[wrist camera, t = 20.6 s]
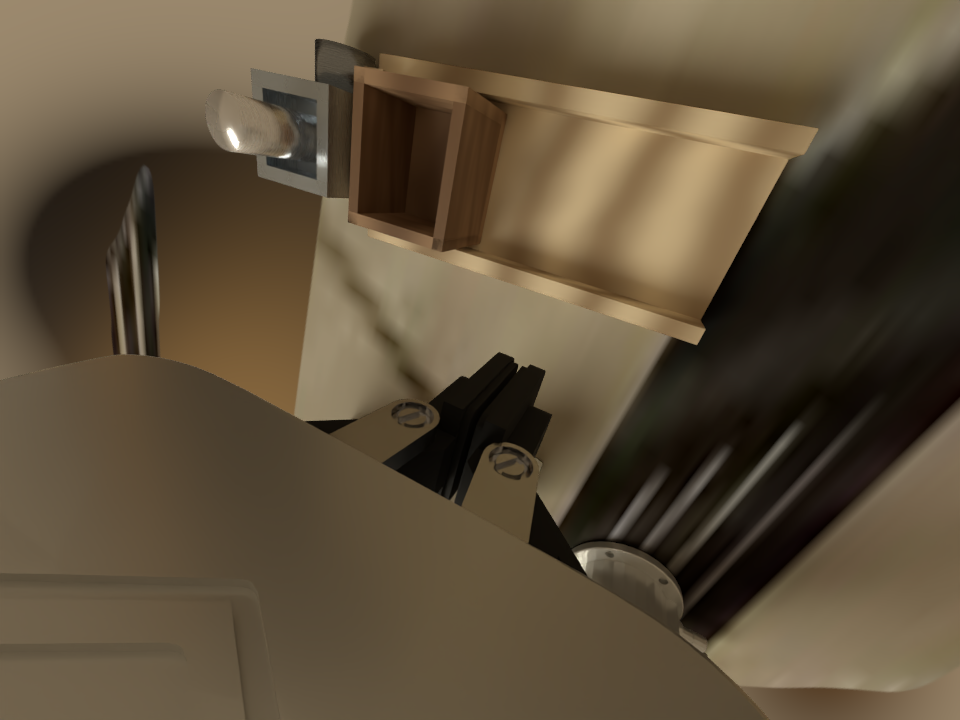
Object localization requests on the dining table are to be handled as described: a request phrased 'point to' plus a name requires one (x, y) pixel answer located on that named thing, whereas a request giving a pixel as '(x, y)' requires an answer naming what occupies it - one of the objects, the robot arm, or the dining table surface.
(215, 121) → the pin
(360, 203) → the crate
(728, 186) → the tray
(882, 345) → the dining table surface
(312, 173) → the grey hollow block
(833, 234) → the dining table surface
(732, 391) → the dining table surface
